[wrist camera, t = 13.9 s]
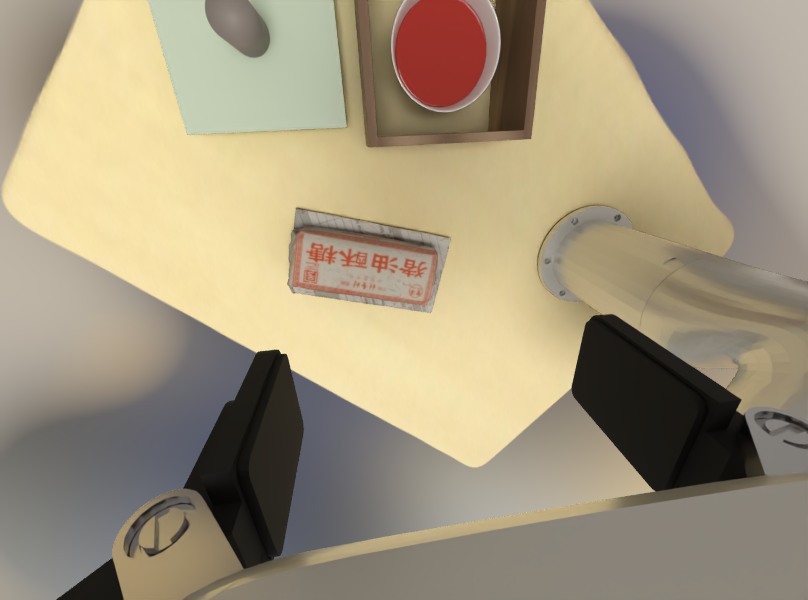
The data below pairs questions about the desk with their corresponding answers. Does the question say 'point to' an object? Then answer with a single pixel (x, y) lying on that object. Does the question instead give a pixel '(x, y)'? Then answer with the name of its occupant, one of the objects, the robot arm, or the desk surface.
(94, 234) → the desk surface
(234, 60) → the lid
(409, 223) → the desk surface
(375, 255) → the packaged product
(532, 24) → the box
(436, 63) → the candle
